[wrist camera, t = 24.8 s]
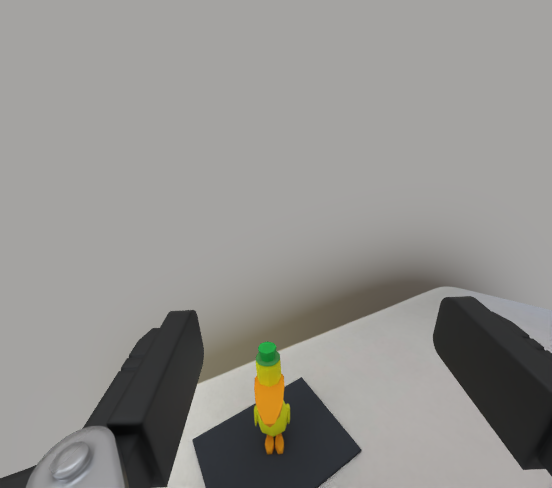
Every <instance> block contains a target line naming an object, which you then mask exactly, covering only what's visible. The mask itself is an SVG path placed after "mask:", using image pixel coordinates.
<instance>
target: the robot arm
mask: <svg viewBox="0 0 552 488" xmlns="http://www.w3.org/2000/svg"><path fill="white" fill-rule="evenodd" d="M433 342H434V346H435V349H436V352H437V353H438V355H439V356H440V358H441V359H442V361H443V362H444V363H445V365H446V366H447V367H448V369H449V370H450V371H451V373H452V374H453V375H454V377H455V378H456V379H457V381H458V382H459V384H460V385H461V386H462V388H463V389H464V390H465V392H466V393H467V394H468V396H469V397H470V398H471V400H472V401H473V403H474V404H475V405H476V407H477V408H478V409H479V411H480V412H481V413H482V415H483V416H484V417H485V419H486V420H487V422H488V423H489V424H490V426H491V427H492V428H493V430H494V431H495V432H496V434H497V435H498V436H499V438H500V439H501V441H502V442H503V443H504V445H505V446H506V447H507V449H508V450H509V451H510V453H511V454H512V455H513V457H514V458H515V459H516V461H517V462H518V464H519V465H520V466H521V468H522V469H523V470H528V469H546V470H547V471H548V472H549V473H550V475H551V476H552V353H550V352H549V351H548V350H546V351H545V350H544V347H543V346H542V345H540V344H539V343H538V342H537V341H535V340H534V339H530V337H529V335H528V334H527V333H525V332H524V331H523V330H522V329H520V328H519V327H518V326H517V325H515V324H514V323H513V322H511V321H509V320H507V319H505V318H503V317H502V316H500V315H498V314H496V313H494V312H491V311H490V310H489V309H488V308H486V307H485V306H484V305H483V304H482V303H480V302H479V301H478V300H477V299H475V298H474V297H471V296H465V297H446V298H444V299H443V300H442V301H441V304H440V308H439V312H438V317H437V321H436V325H435V329H434V333H433ZM203 358H204V348H203V342H202V337H201V332H200V327H199V322H198V317H197V314H196V311H194V310H186V311H171V312H169V313H168V315H167V317H166V318H165V320H164V322H163V324H162V325H161V327H160V328H153V329H151V330H150V331H149V332H148V333H147V334H146V335H144V336H143V337H142V338H141V339H140V340H139V341H138V342H137V344H136V345H135V347H134V348H133V350H132V351H131V353H130V355H129V358H127V360H126V361H125V363H124V364H123V366H122V367H121V371H119V372H118V374H117V375H116V377H115V378H114V380H113V382H112V383H111V385H110V386H109V388H108V389H107V391H106V393H105V394H104V396H103V397H102V399H101V400H100V402H99V404H98V405H97V407H96V408H95V410H94V411H93V413H92V415H91V416H90V418H89V419H88V421H87V422H86V424H85V426H84V427H83V428H82V429H81V430H78V431H76V432H74V433H72V434H70V435H69V436H67V437H65V438H64V439H63V440H61V441H60V442H58V443H57V444H56V445H55V446H54V447H52V448H51V449H50V450H49V451H48V452H47V453H46V455H44V457H43V458H42V459H41V460H40V461H39V463H38V464H37V465H35V466H33V467H31V468H28V469H25V470H23V471H20V472H17V473H14V474H11V475H9V476H6V477H3V478H0V488H157V487H167V484H168V481H169V477H170V474H171V471H172V467H173V464H174V460H175V457H176V454H177V450H178V447H179V444H180V440H181V437H182V433H183V430H184V427H185V423H186V420H187V416H188V413H189V410H190V406H191V403H192V399H193V396H194V393H195V389H196V386H197V383H198V379H199V376H200V372H201V369H202V365H203Z"/></svg>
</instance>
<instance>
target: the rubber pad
mask: <svg viewBox="0 0 552 488" xmlns="http://www.w3.org/2000/svg"><path fill="white" fill-rule="evenodd" d="M283 400H284V402H285V404H287V403H288V404H289V406H290V422H289V424H288V422H287V425H286V428H285V431H284V432H282V433H281V434H282V437H283V440H284V450H283V454H278V453H277V451H276V448H275V438H276V436H274V437H273V439H274V450H273V453H272V454H267V452H266V448H265V440H266V437H267V434H265V433H262V431H261V429H260V426H259V423H258V421H257V425H256V426H255V420H254V406H255V405H256V404H254V405H252V406H250V407H249V408H247V409H245V410H243V411H242V412H240V413H238V414H236V415H235V416H233V417H231V418H229V419H228V420H226V421H224V422H222V423H221V424H219V425H217V426H215V427H214V428H212V429H210V430H208V431H207V432H205V433H203V434H201V435H200V436H198V437H196V438H194V439H193V444H194V447H195V451H196V454H197V458H198V461H199V465H200V468H201V472H202V475H203V479H204V482H205V486H206V488H317V487H319V486H320V485H321V484H322V483H323V482H325V481H326V480H327V479H328V478H329V477H331V476H332V475H333V474H334V473H335V472H337V471H338V470H339V469H340V468H341V467H343V466H344V465H345V464H346V463H348V462H349V461H350V460H351V459H352V458H354V457H355V456H356V455H357V454H358V453H360V452H361V449H360V447H359V446H358V445H357V444H356V443H355V441H354V440H353V439H352V438H351V436H350V435H349V434H348V433H347V432H346V430H345V429H344V428H343V427H342V426H341V424H340V423H339V422H338V421H337V420H336V418H335V417H334V416H333V415H332V413H331V412H330V411H329V410H328V409H327V407H326V406H325V405H324V404H323V403H322V401H321V400H320V399H319V398H318V397H317V395H316V394H315V393H314V392H313V390H312V389H311V388H310V387H309V386H308V384H307V383H306V382H305V381H304V380H303V378H302V377H301V378H300V379H298V380H296V381H294V382H293V383H291V384H289V385H287V386H286V387H284V397H283Z"/></svg>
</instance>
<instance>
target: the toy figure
mask: <svg viewBox="0 0 552 488" xmlns="http://www.w3.org/2000/svg"><path fill="white" fill-rule="evenodd" d="M258 350H259V353H258V354H257V356H256V369H257V376H256V377H255V386H254V390H255V401H256V405H255V406H254V420H255V426H256V425H257V421H258V423H259V426H260V429H261V431H262V433H265V434H267V437H266V440H265V448H266V452H267V454H272V453H273V450H274V439H273V437H274V436H276V438H275V448H276V451H277V453H278V454H283V450H284V440H283V437H282V434H281V433H282V432H284V431H285V428H286V425H287V422H288V424H289V422H290V406H289V404H288V403H287V404H285V402H284V400H283V397H284V376H283V375H282V374H281V364H280V354H279V353H278V352H277V351H276V346H275V344H274V343H271V342H265V343H261V344H260V346H259V347H258Z"/></svg>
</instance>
